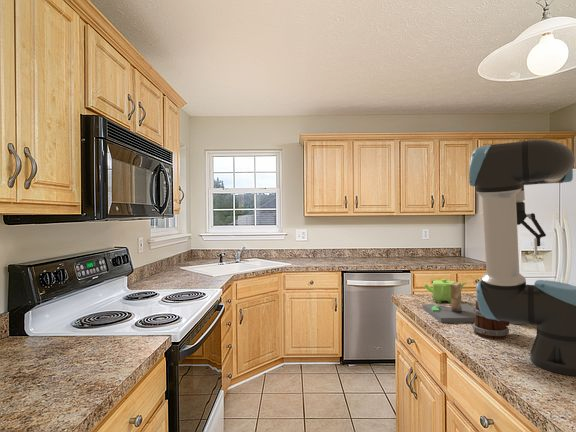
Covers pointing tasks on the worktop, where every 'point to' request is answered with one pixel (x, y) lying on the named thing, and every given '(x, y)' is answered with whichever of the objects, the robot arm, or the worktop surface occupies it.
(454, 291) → the peg key
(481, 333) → the mug
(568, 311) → the robot arm
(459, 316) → the board
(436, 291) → the kettle
